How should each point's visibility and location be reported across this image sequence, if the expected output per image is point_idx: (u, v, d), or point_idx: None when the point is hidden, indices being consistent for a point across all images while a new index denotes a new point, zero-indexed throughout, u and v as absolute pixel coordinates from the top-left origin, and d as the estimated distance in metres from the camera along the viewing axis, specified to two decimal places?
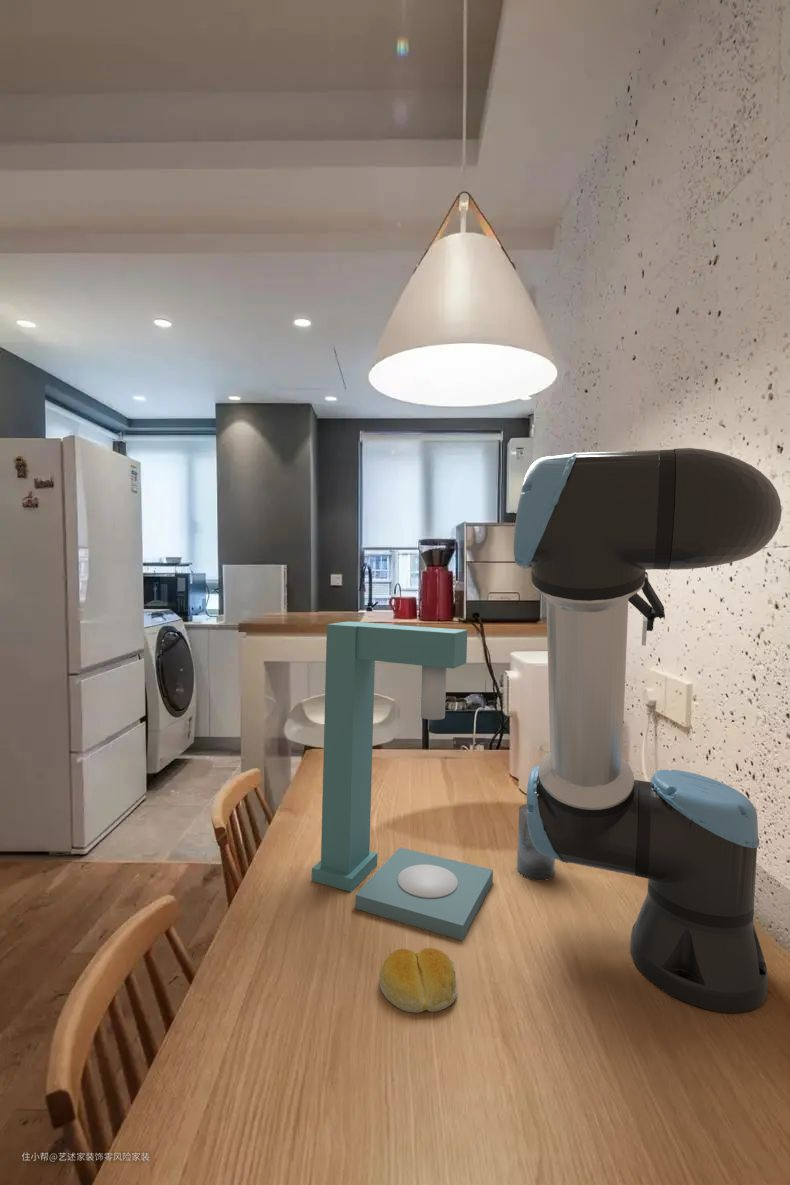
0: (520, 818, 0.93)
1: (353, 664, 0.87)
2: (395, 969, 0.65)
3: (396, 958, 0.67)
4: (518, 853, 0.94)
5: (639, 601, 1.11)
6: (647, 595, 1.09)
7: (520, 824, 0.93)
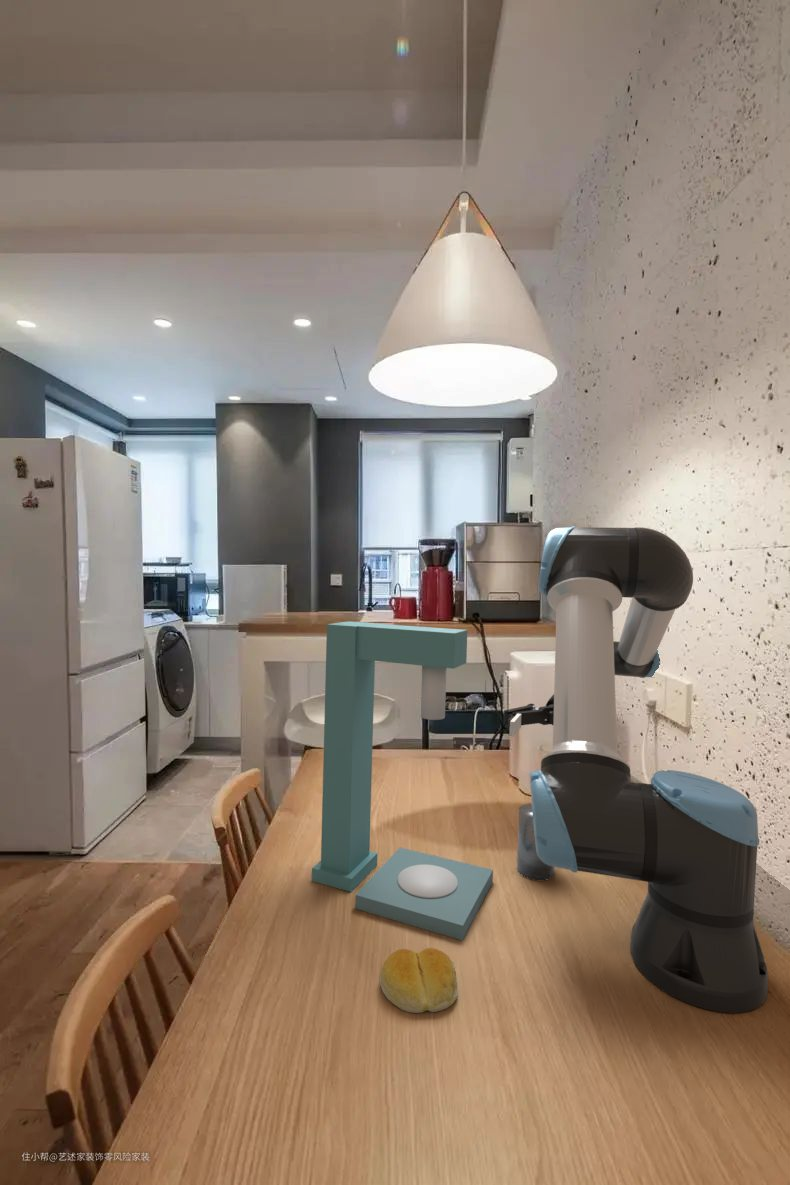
0: (520, 818, 0.93)
1: (353, 664, 0.87)
2: (396, 969, 0.65)
3: (397, 958, 0.67)
4: (518, 853, 0.94)
5: None
6: None
7: (520, 824, 0.93)
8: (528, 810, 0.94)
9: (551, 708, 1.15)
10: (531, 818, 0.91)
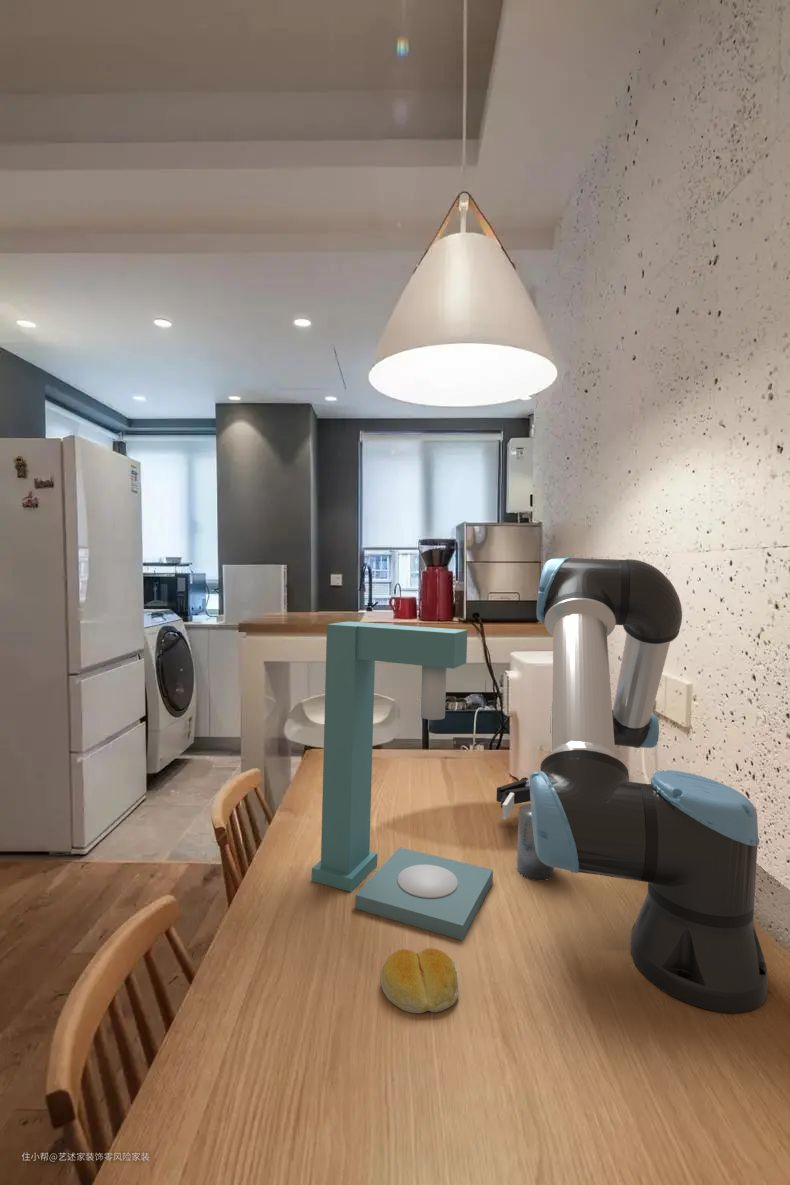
0: (520, 818, 0.93)
1: (353, 664, 0.87)
2: (397, 969, 0.65)
3: (397, 959, 0.67)
4: (518, 853, 0.94)
5: None
6: None
7: (520, 824, 0.93)
8: (528, 810, 0.94)
9: None
10: (531, 818, 0.91)
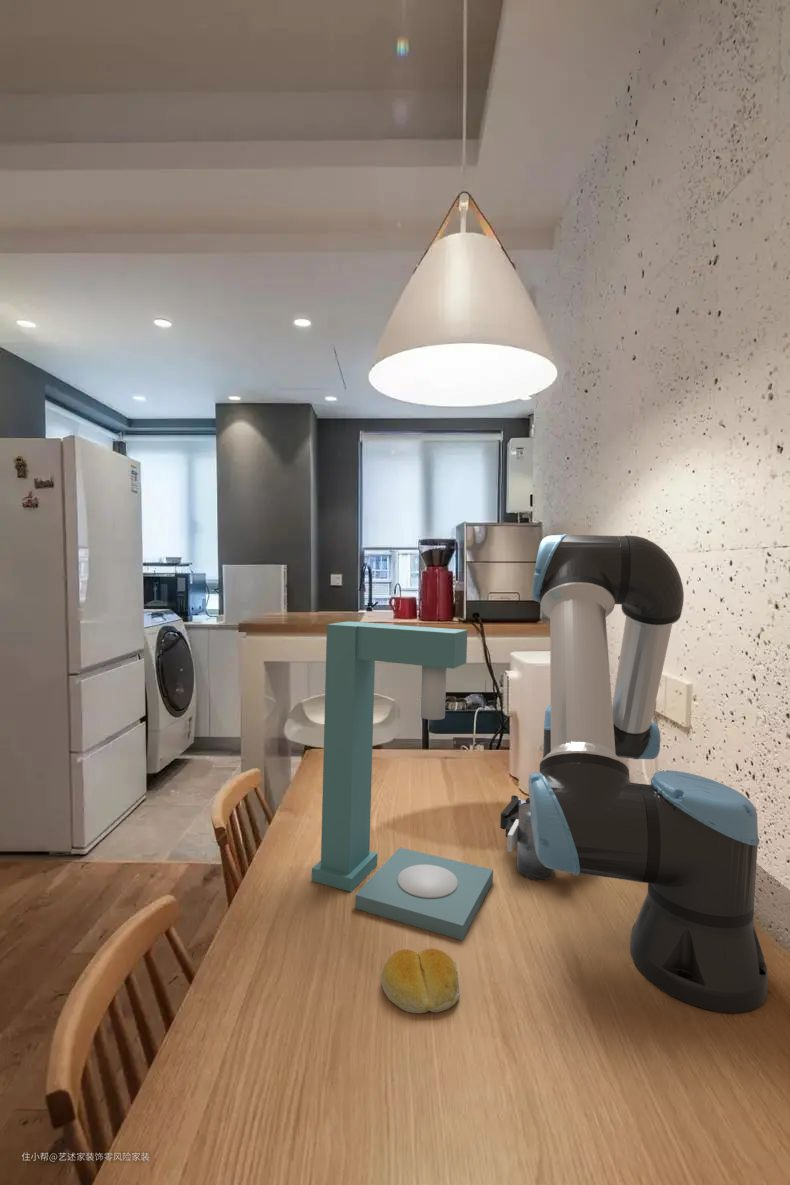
0: (520, 818, 0.93)
1: (353, 664, 0.87)
2: (398, 970, 0.65)
3: (398, 959, 0.67)
4: (518, 853, 0.94)
5: None
6: None
7: (520, 824, 0.93)
8: (528, 809, 0.94)
9: None
10: None
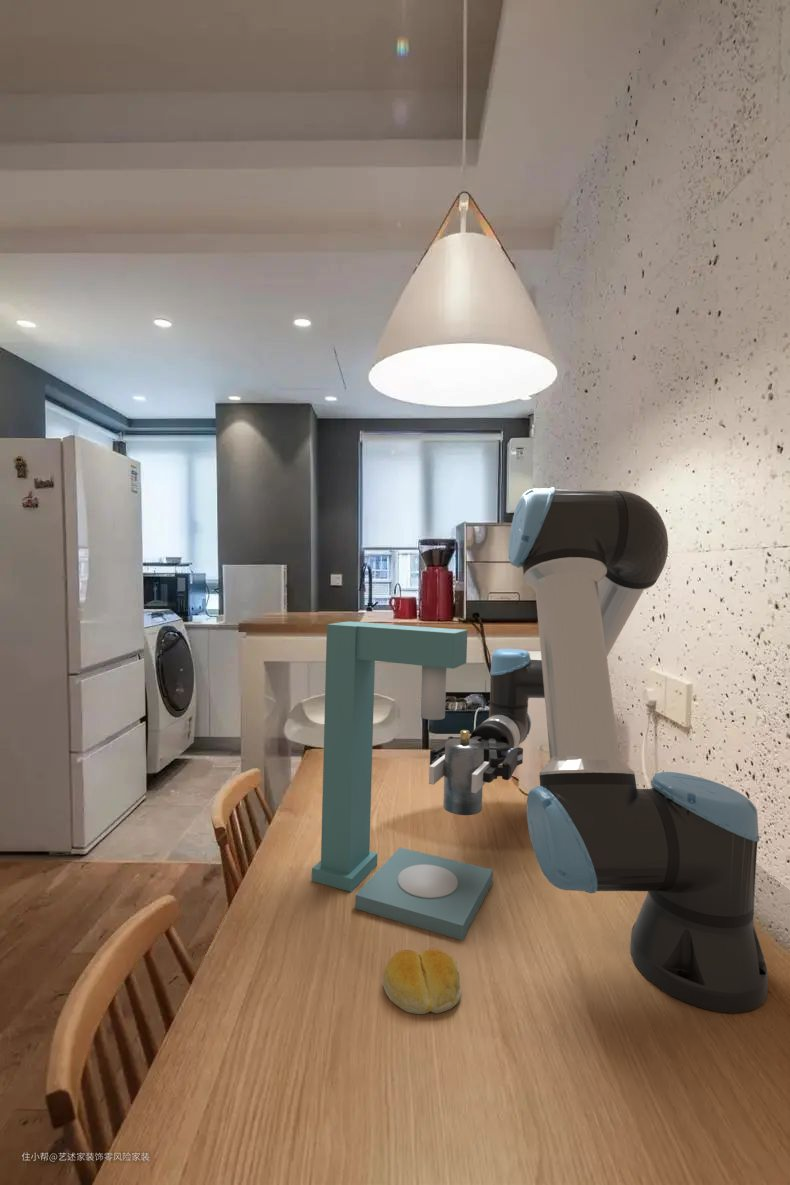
0: (445, 751, 0.89)
1: (353, 664, 0.87)
2: (399, 970, 0.65)
3: (399, 960, 0.67)
4: (444, 788, 0.89)
5: None
6: (511, 753, 0.94)
7: (445, 757, 0.89)
8: (455, 743, 0.90)
9: None
10: (455, 749, 0.87)
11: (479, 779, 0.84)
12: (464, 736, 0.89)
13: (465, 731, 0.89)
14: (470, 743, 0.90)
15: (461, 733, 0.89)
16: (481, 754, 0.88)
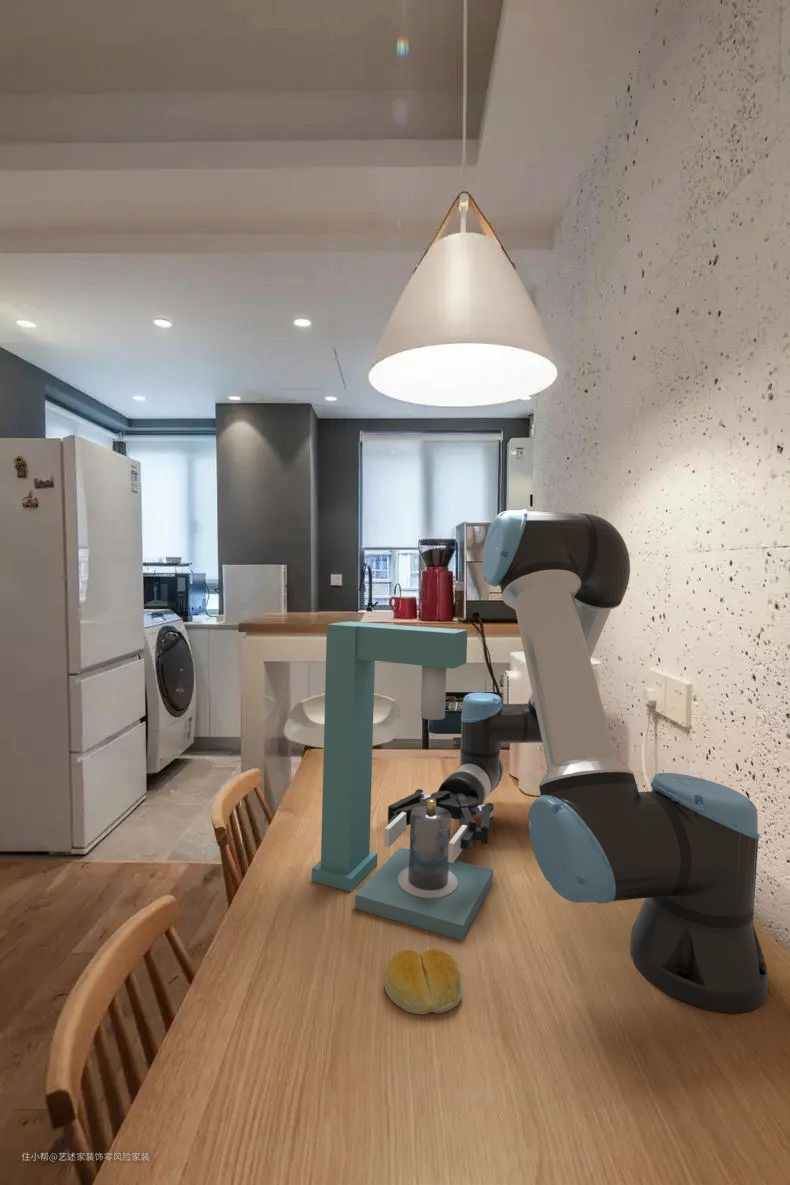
0: (411, 821, 0.85)
1: (353, 664, 0.87)
2: (400, 970, 0.65)
3: (401, 960, 0.66)
4: (409, 859, 0.86)
5: None
6: (484, 811, 0.91)
7: (411, 828, 0.85)
8: (421, 812, 0.86)
9: (442, 797, 0.95)
10: (420, 821, 0.83)
11: (456, 847, 0.81)
12: (431, 806, 0.85)
13: (431, 800, 0.86)
14: (436, 812, 0.86)
15: (427, 802, 0.85)
16: (448, 825, 0.84)
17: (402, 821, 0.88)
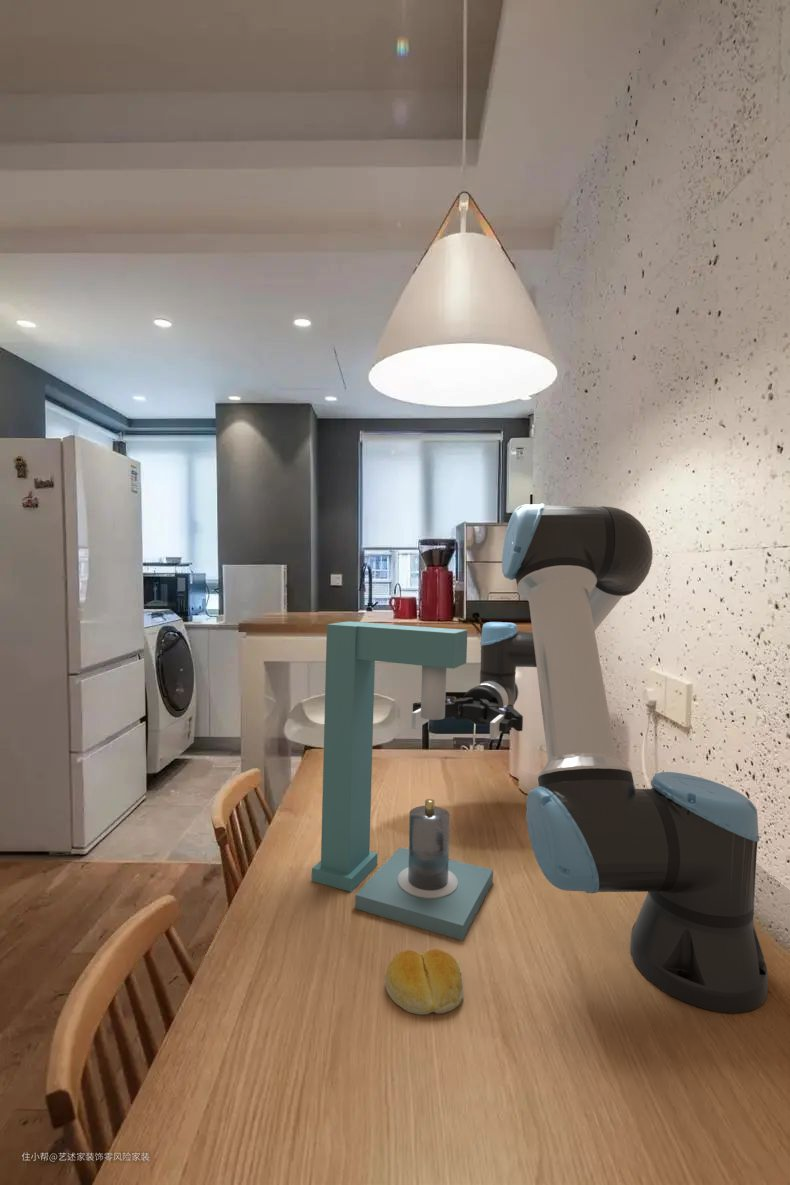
0: (410, 822, 0.85)
1: (353, 664, 0.87)
2: (401, 971, 0.65)
3: (402, 960, 0.66)
4: None
5: None
6: (510, 709, 1.04)
7: (410, 828, 0.85)
8: (419, 812, 0.86)
9: (465, 701, 1.08)
10: (419, 822, 0.83)
11: (496, 727, 0.93)
12: (429, 806, 0.85)
13: (430, 800, 0.86)
14: (435, 812, 0.86)
15: (426, 803, 0.85)
16: (446, 826, 0.84)
17: None
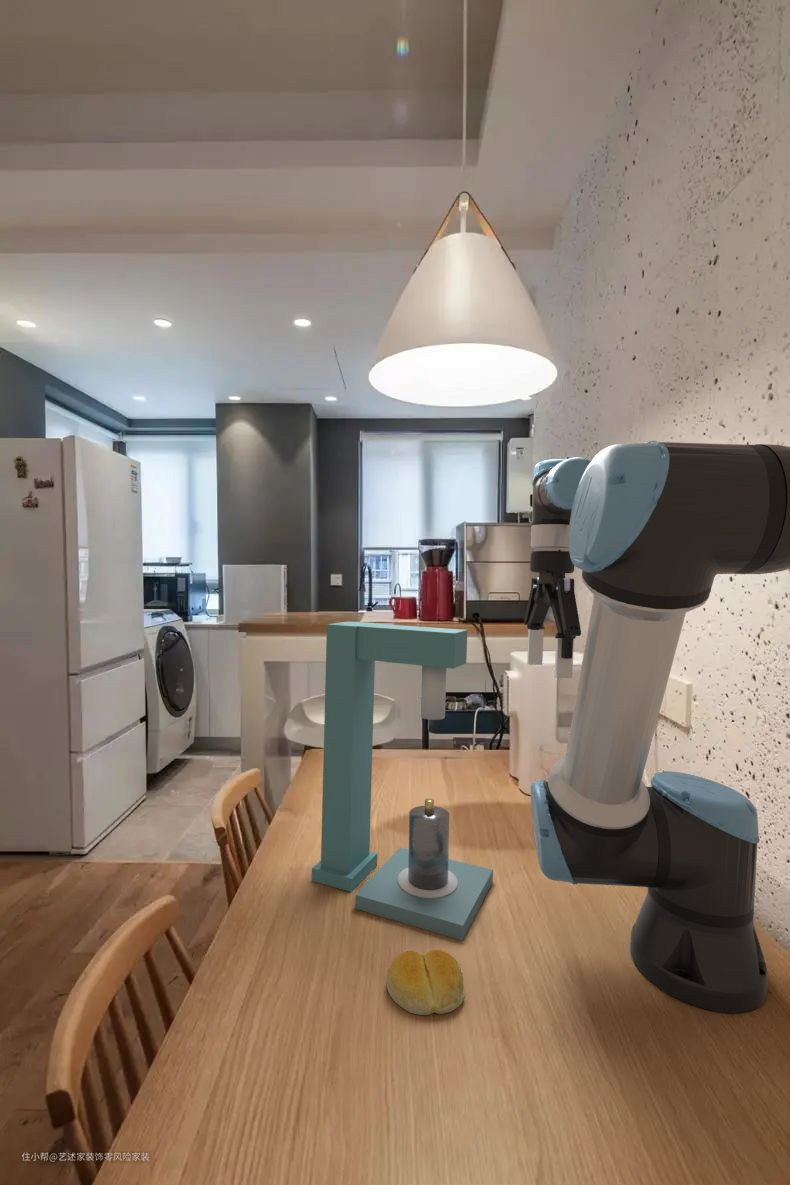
0: (409, 821, 0.85)
1: (353, 664, 0.87)
2: (403, 971, 0.65)
3: (403, 960, 0.66)
4: None
5: (559, 612, 0.96)
6: (559, 601, 0.94)
7: (409, 828, 0.85)
8: (419, 812, 0.86)
9: (539, 595, 1.03)
10: (418, 821, 0.83)
11: (563, 669, 0.94)
12: (429, 806, 0.85)
13: (429, 799, 0.86)
14: (435, 812, 0.86)
15: (425, 802, 0.85)
16: (446, 825, 0.84)
17: (533, 638, 1.08)
